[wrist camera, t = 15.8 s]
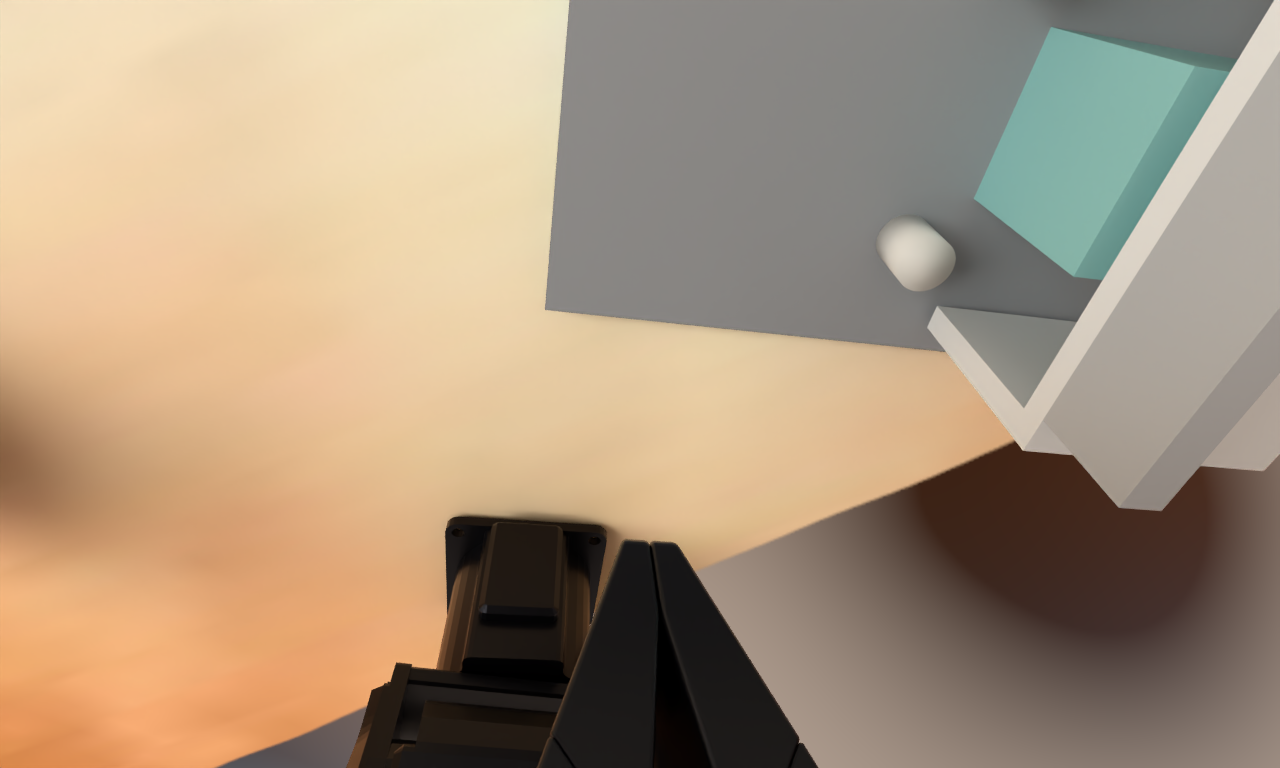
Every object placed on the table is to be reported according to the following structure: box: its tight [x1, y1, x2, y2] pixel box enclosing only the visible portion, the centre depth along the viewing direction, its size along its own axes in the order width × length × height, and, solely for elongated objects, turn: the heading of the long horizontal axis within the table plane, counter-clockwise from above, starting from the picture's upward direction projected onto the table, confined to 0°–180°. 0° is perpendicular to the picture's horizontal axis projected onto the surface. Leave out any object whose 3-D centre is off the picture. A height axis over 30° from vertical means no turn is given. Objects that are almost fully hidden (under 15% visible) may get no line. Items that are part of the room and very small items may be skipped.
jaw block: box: [974, 27, 1238, 280], centre depth 17 cm, size 4×6×5 cm
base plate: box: [545, 0, 1274, 352], centre depth 17 cm, size 15×21×3 cm
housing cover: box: [927, 0, 1280, 511], centre depth 15 cm, size 13×7×9 cm, turn 171°
